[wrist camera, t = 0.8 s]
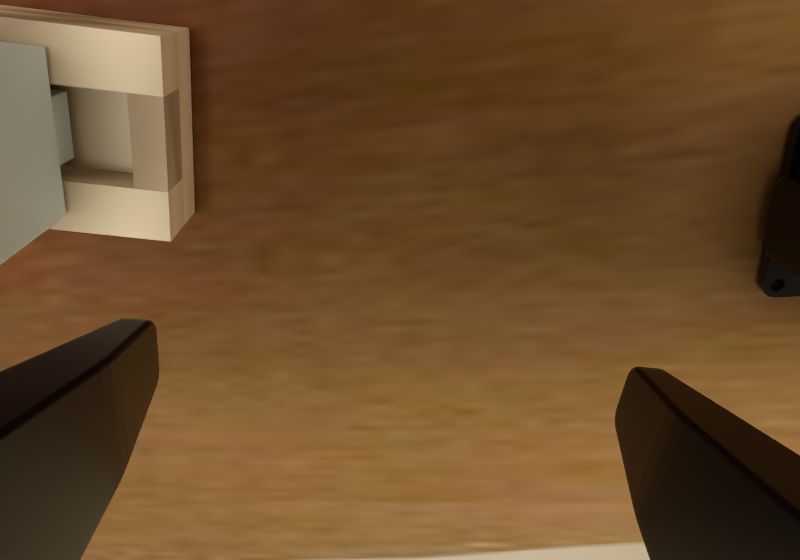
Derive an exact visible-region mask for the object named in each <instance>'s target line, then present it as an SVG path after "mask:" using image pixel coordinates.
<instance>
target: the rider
mask: <svg viewBox="0 0 800 560" xmlns="http://www.w3.org/2000/svg"><path fill="white" fill-rule="evenodd" d="M72 158H74V151H73V143H72V134H71V126H70V117H69V109H68V100H67V92H66V91H61V90H53V89H50V84H49V76H48V69H47V61H46V53H45V47H42V46H33V45H25V44H17V43H8V42H0V265H1V264H2V263H3V262H5V261H6V260H7V259H9V258H10V257H11V256H13V255H14V254H15V253H17V252H18V251H19V250H21V249H22V248H23V247H25V246H26V245H27V244H29V243H30V242H31V241H33V240H34V239H35V238H37V237H38V236H39V235H41V234H42V233H43V232H45V231H46V230H47V229H49V228H50V227H51V226H53V225H54V224H55V223H57V222H58V221H59V220H61V219H62V218H63V217H65V216H66V209H65V201H64V193H63V186H62V178H61V170H60V165H62V164H64V163H65V162H67V161H69V160H71V159H72Z"/></svg>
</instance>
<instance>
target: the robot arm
mask: <svg viewBox="0 0 800 560" xmlns="http://www.w3.org/2000/svg"><path fill="white" fill-rule="evenodd" d="M762 249H763V251H764V254H763V259H762V263H761V268H760V272H759V277H758V287H759V289H760V290H761V291H763V292H764V293H765V294H766V295H768V296H769V297H789V296H800V117H799V118H797V120H796V121H795V122H794V123H793V125H792V128H791V131H790V135H789V140H788V144H787V149H786V153H785V158H784V163H783V167H782V172H781V176H780V179H779V180H778V182H777V183H776V185H775V189H774V194H773V198H772V203H771V208H770V212H769V217H768V221H767V226H766V231H765V235H764V240H763V245H762ZM775 279H779V280H778V282H777V283H776V284H775V285H773V286H770V285H771V283H772V282H773V281H774V280H775ZM158 378H159V359H158V346H157V332H156V327H155V325H154V323H153V322H152V321H150V320H143V319H132V318H123V319H120V320H118V321H115V322H113V323H111V324H109V325H106V326H104V327H102V328H99V329H97V330H95V331H92V332H90V333H88V334H86V335H83V336H81V337H79V338H76V339H74V340H72V341H70V342H67V343H65V344H63V345H60V346H58V347H56V348H53V349H51V350H49V351H47V352H44V353H42V354H40V355H37V356H35V357H33V358H30V359H28V360H26V361H24V362H21V363H19V364H17V365H14V366H12V367H10V368H7V369H5V370H3V371H1V372H0V560H81V558H82V556H83V554H84V552H85V550H86V548H87V546H88V544H89V542H90V540H91V538H92V536H93V534H94V532H95V530H96V528H97V526H98V524H99V523H100V521H101V519H102V517H103V515H104V513H105V511H106V509H107V507H108V505H109V503H110V501H111V499H112V497H113V495H114V493H115V491H116V489H117V487H118V485H119V483H120V481H121V479H122V477H123V475H124V472H125V470H126V467H127V465H128V462H129V459H130V457H131V454H132V451H133V449H134V446H135V443H136V440H137V438H138V435H139V432H140V430H141V427H142V424H143V422H144V419H145V416H146V413H147V411H148V408H149V405H150V403H151V400H152V397H153V394H154V392H155V389H156V386H157V383H158ZM615 427H616V432H617V436H618V441H619V445H620V450H621V454H622V459H623V463H624V468H625V472H626V477H627V481H628V486H629V490H630V495H631V499H632V504H633V508H634V512H635V515H636V519H637V522H638V525H639V529H640V532H641V535H642V538H643V541H644V543H645V546H646V549H647V552H648V555H649V558H650V560H800V456H799V455H798V454H796V453H795V452H793V451H792V450H790V449H788V448H787V447H785V446H784V445H782V444H780V443H779V442H777V441H776V440H774V439H772V438H771V437H769V436H768V435H766V434H764V433H763V432H761V431H760V430H758V429H756V428H755V427H753V426H752V425H750V424H748V423H747V422H745V421H744V420H742V419H740V418H739V417H737V416H736V415H734V414H732V413H731V412H729V411H728V410H726V409H724V408H723V407H721V406H720V405H718V404H716V403H715V402H713V401H712V400H710V399H708V398H707V397H705V396H704V395H702V394H700V393H699V392H697V391H696V390H694V389H693V388H691V387H689V386H688V385H686V384H685V383H683V382H681V381H680V380H678V379H677V378H675V377H673V376H672V375H670V374H669V373H667V372H665V371H664V370H662V369H658V368H647V367H635V368H633V369H631V371H630V372H629V374H628V376H627V379H626V382H625V385H624V388H623V391H622V394H621V397H620V400H619V403H618V406H617V410H616V414H615Z"/></svg>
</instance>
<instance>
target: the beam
mask: <svg viewBox="0 0 800 560" xmlns="http://www.w3.org/2000/svg"><path fill="white" fill-rule="evenodd" d="M0 42H8V43H17V44H25V45H33V46H42V47H45V53H46V61H47V69H48V76H49V84H50V89H53V90H61V91H66V92H67V100H68V109H69V117H70V126H71V134H72V143H73V151H74V158H72V159H71V160H69V161H67V162H65V163H64V164H62V165H60V170H61V178H62V186H63V193H64V201H65V209H66V216H65V217H63V218H62V219H61V220H59V221H58V222H57V223H55V224H54V225H53V226H51V227H50V228H49V229H54V230H64V231H74V232H83V233H93V234H102V235H112V236H122V237H131V238H141V239H151V240H160V241H170V242H171V241H172V239H173V238H174V237H175V236H176V235H177V233H178V232H179V231H180V230H181V229H182V227H183V226H184V225H185V224H186V222H187V221H188V220H189V219H190V218H191V216H192V215H193V214H194V213H195V197H194V165H193V133H192V101H191V69H190V37H189V28H187V27H179V26H171V25H163V24H155V23H147V22H139V21H130V20H122V19H114V18H106V17H98V16H90V15H81V14H73V13H65V12H57V11H49V10H41V9H32V8H24V7H16V6H8V5H0Z"/></svg>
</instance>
